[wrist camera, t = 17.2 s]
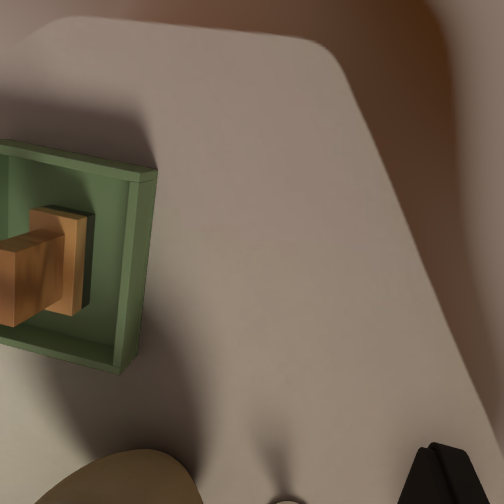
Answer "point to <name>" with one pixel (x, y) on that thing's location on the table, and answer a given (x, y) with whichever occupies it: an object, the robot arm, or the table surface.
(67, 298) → the wooden inverted t block
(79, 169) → the tray
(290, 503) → the chess piece
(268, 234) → the table surface
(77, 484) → the tan bowl
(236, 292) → the table surface
